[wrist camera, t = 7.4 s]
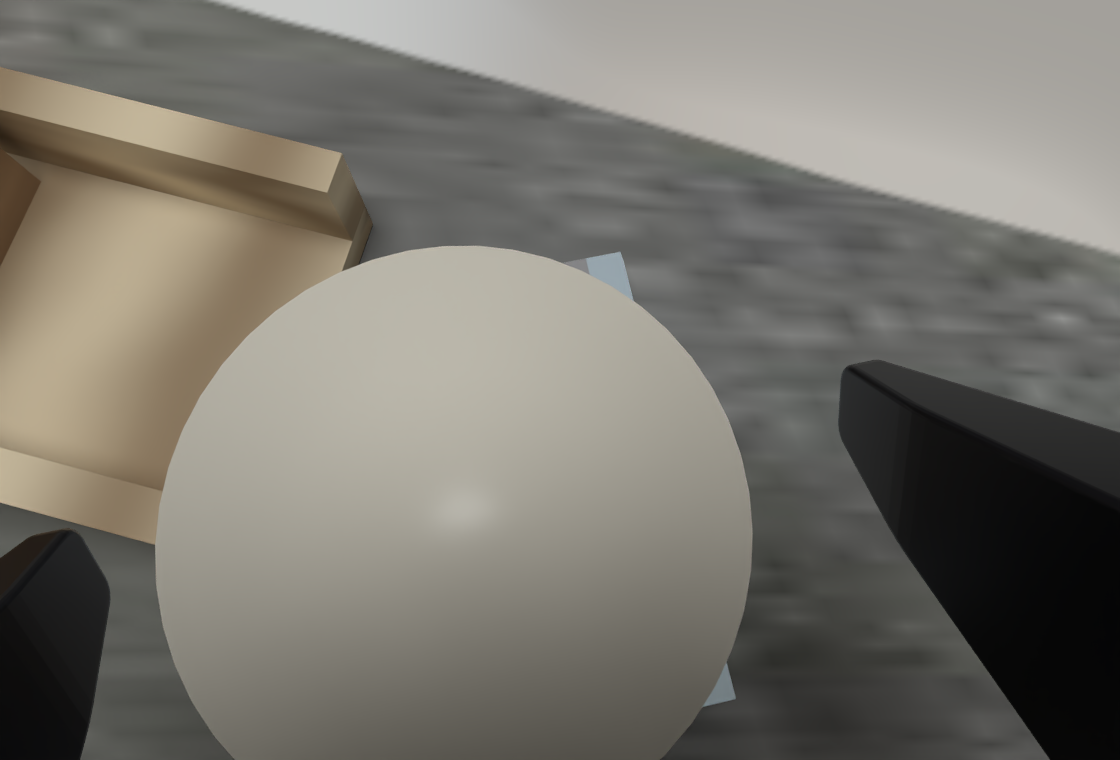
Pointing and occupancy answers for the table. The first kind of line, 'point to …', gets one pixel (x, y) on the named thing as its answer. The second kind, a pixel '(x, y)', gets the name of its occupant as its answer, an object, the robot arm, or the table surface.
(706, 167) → the table surface
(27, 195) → the box
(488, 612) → the crank handle
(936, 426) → the robot arm
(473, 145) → the table surface
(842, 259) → the table surface
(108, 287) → the bay
